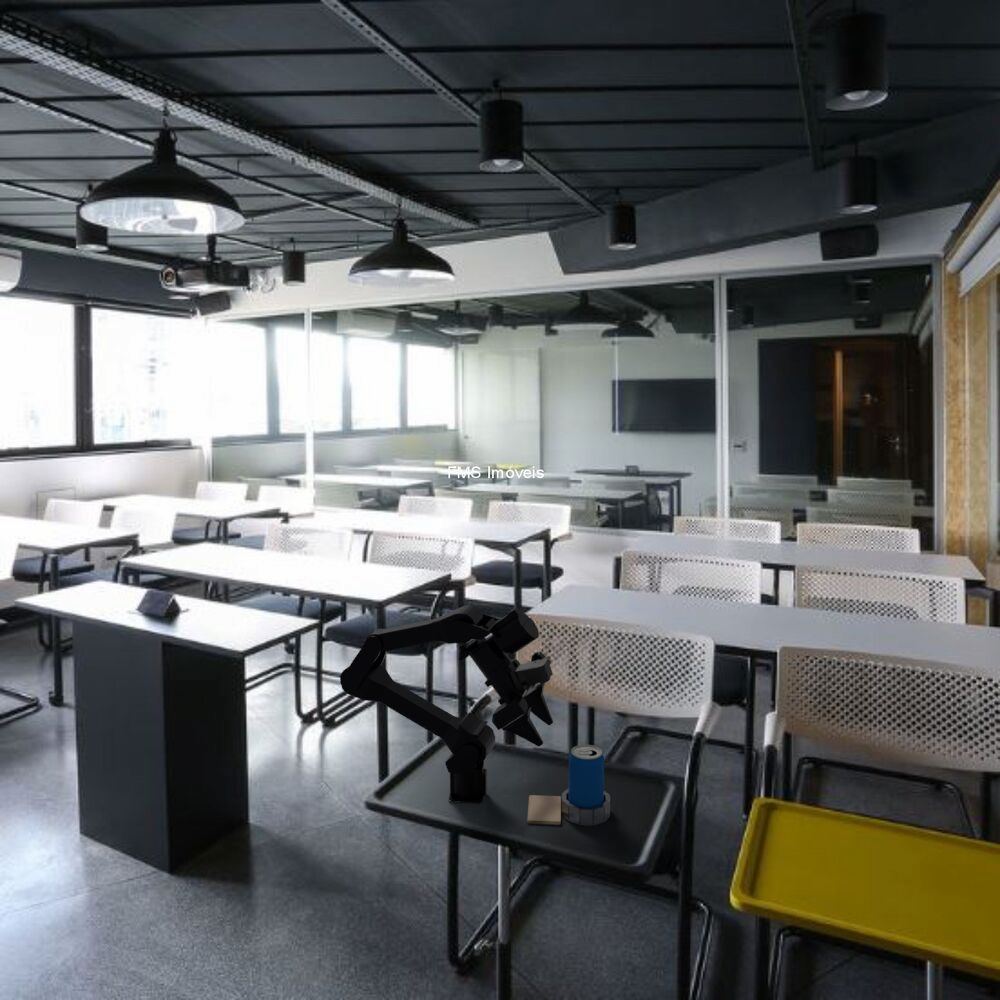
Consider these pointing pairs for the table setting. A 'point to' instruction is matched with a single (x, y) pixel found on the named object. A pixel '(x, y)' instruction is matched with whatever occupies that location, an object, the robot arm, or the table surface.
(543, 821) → the cork pad
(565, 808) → the ring
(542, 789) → the table surface
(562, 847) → the table surface
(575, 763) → the beverage can
